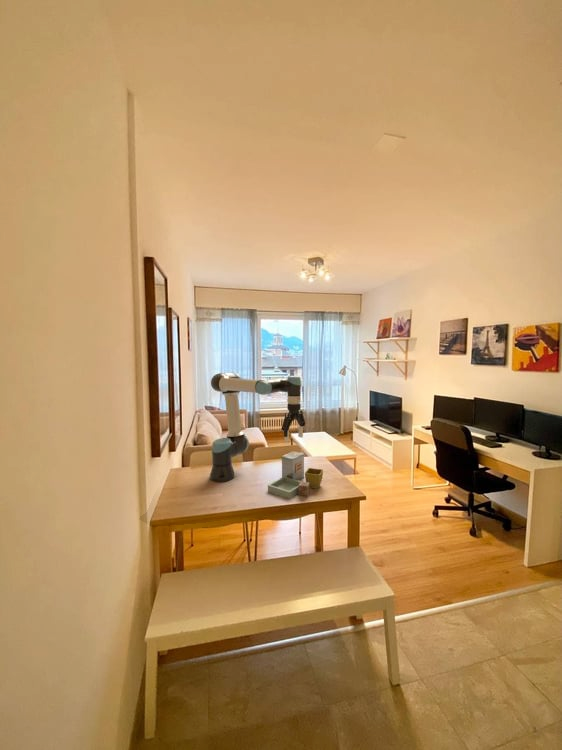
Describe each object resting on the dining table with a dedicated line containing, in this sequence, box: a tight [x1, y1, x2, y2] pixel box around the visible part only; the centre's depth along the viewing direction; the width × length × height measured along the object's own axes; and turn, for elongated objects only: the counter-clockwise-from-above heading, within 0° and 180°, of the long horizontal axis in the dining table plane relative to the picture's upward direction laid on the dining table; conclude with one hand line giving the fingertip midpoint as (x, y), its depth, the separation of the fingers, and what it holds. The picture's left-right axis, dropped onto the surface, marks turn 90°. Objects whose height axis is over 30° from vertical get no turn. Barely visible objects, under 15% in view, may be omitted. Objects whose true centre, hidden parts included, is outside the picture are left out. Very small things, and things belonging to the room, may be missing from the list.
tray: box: [267, 476, 302, 500], centre depth 171 cm, size 15×15×4 cm
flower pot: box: [304, 467, 324, 489], centre depth 175 cm, size 9×9×9 cm
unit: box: [280, 450, 305, 481], centre depth 186 cm, size 9×13×15 cm
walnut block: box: [297, 481, 311, 498], centre depth 165 cm, size 5×5×6 cm
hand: (293, 439), depth 175 cm, fingers open, 13 cm apart
